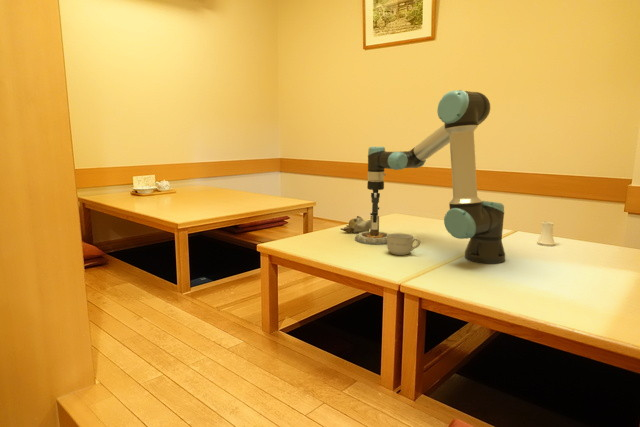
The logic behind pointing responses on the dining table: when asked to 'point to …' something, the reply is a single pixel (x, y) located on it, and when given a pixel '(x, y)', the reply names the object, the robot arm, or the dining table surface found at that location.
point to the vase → (546, 235)
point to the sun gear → (374, 231)
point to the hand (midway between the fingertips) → (374, 226)
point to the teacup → (401, 243)
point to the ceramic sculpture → (357, 225)
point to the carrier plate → (371, 239)
